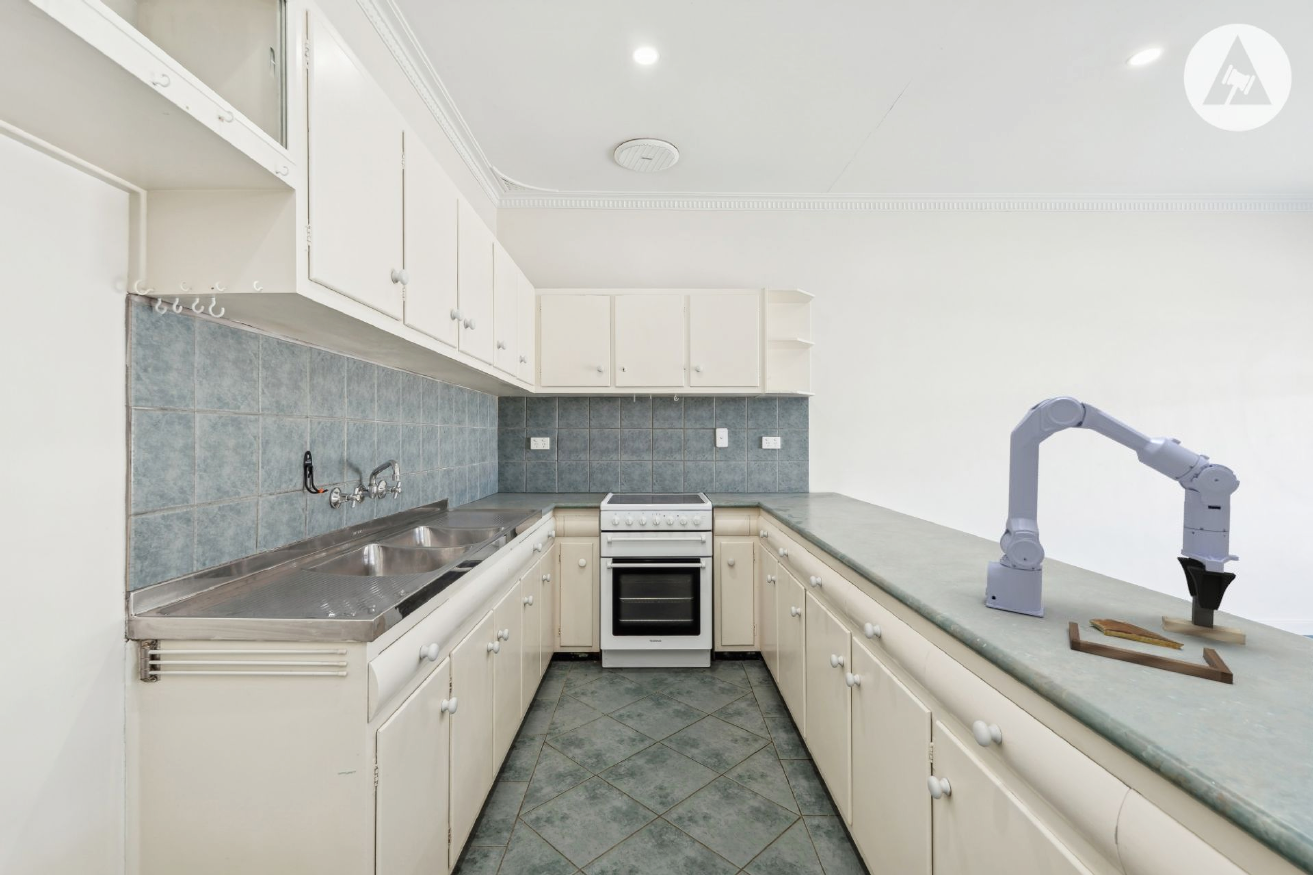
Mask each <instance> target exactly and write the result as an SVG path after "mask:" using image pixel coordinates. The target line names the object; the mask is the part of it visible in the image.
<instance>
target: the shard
mask: <svg viewBox="0 0 1313 875" xmlns="http://www.w3.org/2000/svg"><path fill="white" fill-rule="evenodd" d="M1089 623H1090V624H1091V625H1092V627H1095V628H1096V629H1098V630H1100V631H1101V632H1102V633H1103V635H1105V636H1109V637H1115V638H1123V639H1127V640H1130V641H1136V642H1138V643H1140V642H1141V643H1145V644H1148V645H1149V644H1150V645H1152V646H1153V645H1155V646H1159V647H1163V648H1170V649H1175V650H1181V647H1184V646H1185V644H1183V643H1180V642H1178V641H1175V640H1173V639H1170V638H1167V637H1164V636H1162V635H1160V634H1158V633H1156V632H1152V631H1150V630H1148V629H1145V628H1142V627H1140V626H1137V625H1135V624H1132V623H1129V622H1126V621H1120V620H1116V619H1111V618H1105V619H1104V618H1103V619H1102V618H1096V619H1095V618H1094V619H1093V618H1092V619H1089Z"/></svg>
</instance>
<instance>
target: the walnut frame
mask: <svg viewBox="0 0 1313 875" xmlns="http://www.w3.org/2000/svg"><path fill="white" fill-rule="evenodd" d="M1079 631H1080V630H1079V624H1078V622H1073V621H1069V622H1068V634H1069V644H1070V650H1073V651H1074V650H1075V651H1078V652H1083V653H1088V654H1092V655H1098V656H1101V657H1102V656H1103V657H1106V658H1112V659H1115V660H1119V661H1125V662H1130V663H1133V664H1138V665H1143V666H1148V667H1151V668H1157V669H1161V670H1166V671H1169V672H1170V671H1171V672H1173V673H1174V672H1176V673H1179V674H1185V675H1188V676H1189V675H1190V676H1194V677H1198V678H1203V679H1206V680H1212V681H1216V682H1221V683H1226V684H1231V685H1233V684H1234V683H1233V682H1234V674H1233V672H1232V671H1231V669H1230V668H1229V667H1228V666H1227V664H1226V662H1225V661H1224V660H1223V659H1222V658H1221V656H1220V655H1219V654H1218V653H1217V651H1216V649H1214V648H1209V647H1206V646H1205V647H1204V646H1203V650H1202V657H1203V658H1204V659H1205V661H1206V663H1207V664H1208V665H1202V664H1199V663H1195V662H1190V661H1189V662H1188V661H1185V660H1184V661H1183V660H1179V659H1174V658H1169V657H1165V656H1161V655H1160V656H1159V655H1155V654H1151V653H1145V652H1140V651H1135V650H1130V649H1127V648H1121V647H1116V646H1112V645H1107V644H1102V643H1096V642H1092V641H1088V640H1082V639H1081V637H1080V632H1079Z"/></svg>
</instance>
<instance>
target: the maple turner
mask: <svg viewBox="0 0 1313 875" xmlns="http://www.w3.org/2000/svg"><path fill="white" fill-rule="evenodd" d="M1191 602H1192V603H1191V620H1186V619H1182V618H1177V617H1176V618H1175V617H1170V616H1164V615H1162V618H1161V620H1162V621H1161V626H1162V628H1163V629H1164V631H1166V632H1167V631H1168V632H1172V633H1178V634H1183V635H1188V636H1194V637H1199V638H1205V639H1210V640H1217V641H1221V642H1226V643H1232V644H1237V645H1243V646H1246V636H1247V634H1245V632H1244V631H1243V630H1242V629H1239V628H1234V627H1229V626H1222V625H1216V624H1214V621H1215V620H1214V616H1215V614H1214V613H1215V610H1211V609H1205V608H1201V607H1200V605H1199V602H1198V598H1197V596H1195V595H1193V596H1192V597H1191Z"/></svg>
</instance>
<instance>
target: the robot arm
mask: <svg viewBox="0 0 1313 875" xmlns="http://www.w3.org/2000/svg"><path fill="white" fill-rule="evenodd" d="M1070 428H1072V429H1083V430H1084V429H1086V430H1092V431H1094V432H1096V433H1098V434H1100V435H1102V436H1105V437H1106V438H1108V439H1111V440H1112V441H1114V442H1117V443H1119V444H1120V445H1122V446H1125V447H1127V448H1129V449H1131V450H1133V451H1134V452H1136V456H1137V459H1138V461H1139V463H1142V464H1144V465H1146V466H1147V467H1149V468H1150V469H1153V470H1154V471H1157V472H1159V473H1160V474H1162V475H1164V476H1166V477H1168V478H1169V479H1171V480H1173V481H1176V482H1178V484H1179V485H1180V487H1181V488H1182V489H1184V501H1183V525H1182V527H1183V529H1182V549H1180V555H1182V557H1181V556H1177V557H1176V559H1177V560H1178V562H1179V564H1180V565H1181V568H1182V570H1183V572H1184V575H1185V580H1186V584H1187V589H1188V592H1189V595H1190V597H1191V598H1192V596H1193V595H1195V596H1197V598H1198V602H1199V605H1200V607H1201V608H1205V609H1211V610H1214V611H1218V610H1219V608H1220V607H1221V603H1222V601H1223V598H1224V595H1225V593H1226V591H1227V589H1228V587H1229V586H1230V585H1231V583H1232V582H1233V581H1234V580H1235V579H1236V578H1237V575H1236V574H1235V573H1234V572H1229V571H1228V572H1226V571H1225V569H1224V568H1225V564H1226V563H1228V562H1230V561H1235V562H1238V561H1240V560H1239V559H1240V558H1239V556H1237V555H1236V554H1235V555H1234V554H1230V553H1229V552H1230V527H1231V495H1232V494H1233V493H1234V492H1236V491H1237V489H1238V488H1239V486H1240V484H1241V481H1240V480H1239V479H1237V475H1236V474H1234V473H1235V472H1234V471H1233V470H1232V469H1231V468H1229V467H1228V466H1226V465H1223V464H1217V463H1210V462H1209V460H1210V457H1209V456H1208V455H1206V454H1198V453H1195V452H1194V451H1192V450H1190V449H1188V448H1187V447H1184V446H1182V445H1181V440H1179V439H1176V438H1174V437H1170V438H1167V437H1164V436H1159V437H1149V436H1147V435H1145V434H1144V433H1142V432H1140V431H1138V430H1136V429H1134V428H1133V427H1131V426H1129V425H1127V424H1126V423H1124V422H1122V421H1120V420H1118V419H1117V418H1115V417H1113V416H1112V415H1110V414H1108V413H1106V412H1104V411H1103V410H1101V409H1098V408H1097V407H1095V406H1093V405H1091V404H1089V403H1086V402H1084V401H1082V402H1081V401H1079V400H1078V399H1076V398H1074V397H1072V396H1068V395H1059V396H1055V397H1053V398H1047V399H1043V400H1042V401H1039V403H1037V404H1035V405H1034V406H1032V407H1030V408H1029V410H1028V411H1027V413H1026V414H1025V415H1024V416H1023V417H1022V419H1021V420H1020V421H1019V422H1018V423H1017V425H1016V426H1015V428H1014V429H1013V430H1012V431H1011V432H1010V442H1009V446H1010V447H1009V470H1008V471H1009V472H1008V474H1009V476H1008V479H1009V480H1008V506H1007V507H1008V510H1007V513H1008V514H1007V519H1006V522H1005V530H1004V533H1003V534H1002V535H1001V537H1000V539H999V545H1000V549H1001V550H1002V552H1003V553H1004V555H1002V556H1001V557H1000V558H999V561H992V560H991V561H988V562H987V563H988V564H987V573H986V574H987V575H986V576H987V578H986V587H985V596H986V603H985V606H986V607H988V608H995V609H997V610H1004V611H1009V612H1015V613H1021V614H1025V615H1031V616H1035V617H1042V618H1043V617H1044V610H1045V609H1044V607H1045V606H1044V605H1045V604H1043V603H1042V592H1043V591H1042V590H1043V565H1042V563H1043V561H1044V559H1045V549H1044V547H1043V545H1042V543H1041V540H1040V530H1039V526H1038V496H1039V495H1038V494H1039V492H1038V489H1039V488H1038V487H1039V458H1040V456H1039V455H1040V444H1041V443H1043V442H1044V441H1045V440H1047V439H1048V438H1049V437H1051V436H1052V435H1053V434H1055V433H1058V432H1062V431H1063V430H1066V429H1070ZM1183 556H1184V557H1183Z"/></svg>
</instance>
